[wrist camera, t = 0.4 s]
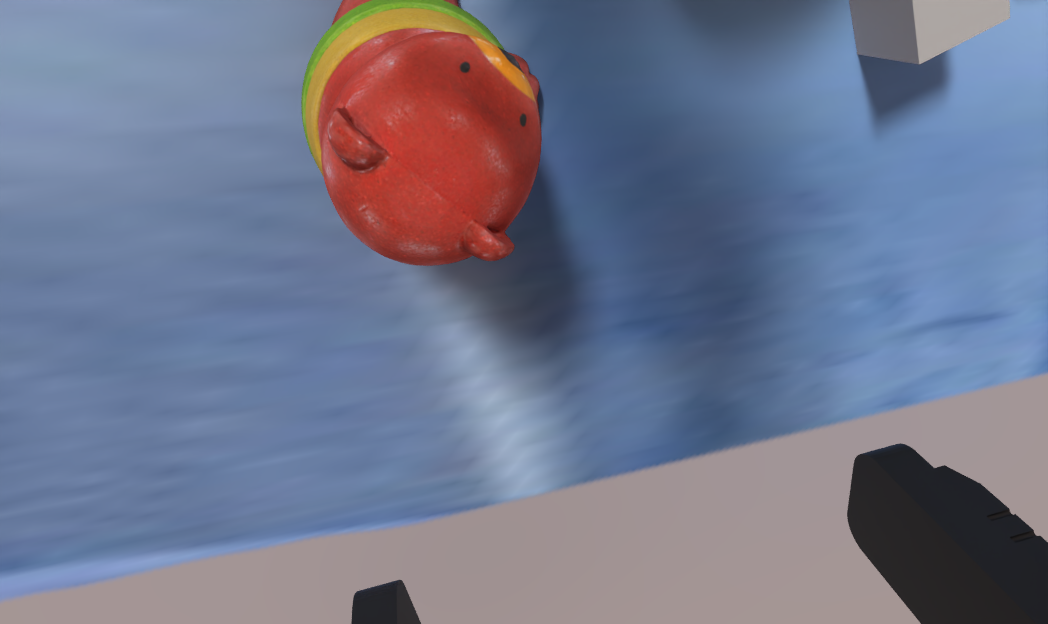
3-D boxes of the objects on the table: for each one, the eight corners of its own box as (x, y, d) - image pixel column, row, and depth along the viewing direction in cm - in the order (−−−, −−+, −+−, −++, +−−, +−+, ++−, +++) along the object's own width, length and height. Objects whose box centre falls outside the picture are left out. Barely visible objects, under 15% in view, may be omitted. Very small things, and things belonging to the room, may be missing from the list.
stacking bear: (553, 95, 34) (685, 192, 19) (424, 220, 36) (447, 400, 21) (408, -80, 29) (425, -144, 14) (267, 76, 31) (144, 173, 16)
